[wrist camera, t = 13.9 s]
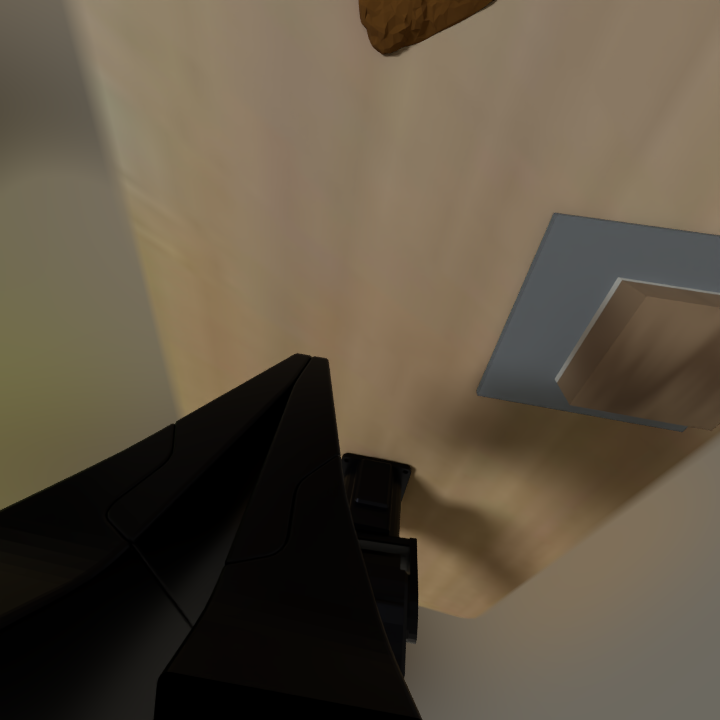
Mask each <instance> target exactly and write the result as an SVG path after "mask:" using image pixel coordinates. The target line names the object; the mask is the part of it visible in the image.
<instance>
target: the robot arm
mask: <svg viewBox="0 0 720 720" xmlns="http://www.w3.org/2000/svg"><path fill="white" fill-rule="evenodd" d="M410 474H411V467H410V466H408V465H404V464H399V463H393V462H388V461H383V460H378V459H373V458H368V457H363V456H358V455H353V454H347V453H346V454H343V456H342V460H341V457H340V447H339V439H338V431H337V423H336V415H335V408H334V400H333V392H332V384H331V376H330V368H329V361H328V359H327V358H321V357H316V356H314V357H311V356H310V355H304V354H299V353H297V354H294V355H292V356H290V357H289V358H287V359H285V360H283V361H282V362H280V363H278V364H276V365H275V366H273V367H271V368H269V369H268V370H266V371H264V372H262V373H261V374H259V375H257V376H255V377H253V378H252V379H250V380H248V381H246V382H245V383H243V384H241V385H239V386H238V387H236V388H234V389H232V390H231V391H229V392H227V393H225V394H224V395H222V396H220V397H218V398H216V399H215V400H213V401H211V402H209V403H208V404H206V405H204V406H202V407H201V408H199V409H197V410H195V411H194V412H192V413H190V414H188V415H187V416H185V417H183V418H181V419H179V420H178V421H176V423H175V424H170V425H169V426H167V427H165V428H163V429H162V430H160V431H158V432H156V433H155V434H153V435H151V436H149V437H147V438H145V439H144V440H142V441H140V442H138V443H136V444H134V445H132V446H131V447H129V448H127V449H125V450H123V451H121V452H119V453H117V454H115V455H113V456H111V457H109V458H107V459H105V460H103V461H101V462H99V463H97V464H95V465H93V466H91V467H89V468H87V469H85V470H83V471H81V472H79V473H77V474H74V475H73V476H70V477H68V478H66V479H64V480H62V481H60V482H58V483H56V484H54V485H52V486H50V487H47V488H45V489H44V490H41V491H39V492H37V493H35V494H33V495H31V496H29V497H27V498H25V499H23V500H20V501H19V502H16V503H14V504H12V505H10V506H8V507H6V508H4V509H2V510H0V720H422V718H421V716H420V713H419V711H418V709H417V707H416V704H415V702H414V700H413V698H412V695H411V693H410V691H409V689H408V686H407V684H406V682H405V680H404V676H405V653H406V642H409V643H413V644H416V640H417V626H418V567H417V539H416V538H410V539H407V538H400V537H399V530H400V509H401V501H402V498H403V495H404V492H405V489H406V486H407V483H408V480H409V477H410Z"/></svg>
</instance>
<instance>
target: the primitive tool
mask: <svg viewBox="0 0 720 720" xmlns="http://www.w3.org/2000/svg"><path fill="white" fill-rule="evenodd" d="M492 1H494V0H359V11H360V19H361V23H362V24H363V25H364V26H365V27H366V28H367V33H368V37H369V40H370V43H371V44H372V46H373V47H374V48H375V49H376V50H377V51H378V52H380V53H381V54H385V53H392V52H395V51H397V50H399V49H400V48H402V47H404V46H409V45H412V44H415V43H419V42H422V41H424V40H426V39H427V38H429V37H431V36H432V35H434V34H436V33H437V32H440V31H442V30H444V29H446V28H449V27H451V26H453V25H455V24H457V23H458V22H460V21H462V20H464V19H466V18H468V17H469V16H471V15H472V14H474V13H476V12H477V11H479V10H481V9H482V8H484V7H485V6H486V5H488V4H489V3H490V2H492Z"/></svg>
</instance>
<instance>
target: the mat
mask: <svg viewBox="0 0 720 720" xmlns="http://www.w3.org/2000/svg"><path fill="white" fill-rule="evenodd" d="M618 277H619V278H626V279H632V280H639V281H645V282H652V283H658V284H665V285H671V286H678V287H684V288H691V289H697V290H704V291H710V292H717V293H720V235H712V234H705V233H698V232H691V231H683V230H676V229H669V228H662V227H654V226H647V225H640V224H633V223H625V222H618V221H611V220H604V219H596V218H589V217H582V216H575V215H567V214H560V213H554V214H553V216H552V218H551V221H550V223H549V225H548V228H547V230H546V232H545V234H544V237H543V239H542V241H541V244H540V246H539V248H538V250H537V253H536V255H535V257H534V260H533V262H532V264H531V267H530V269H529V271H528V273H527V276H526V278H525V280H524V283H523V285H522V287H521V290H520V292H519V294H518V296H517V299H516V301H515V303H514V306H513V308H512V310H511V313H510V315H509V317H508V319H507V322H506V324H505V326H504V329H503V331H502V333H501V335H500V338H499V340H498V342H497V345H496V347H495V349H494V352H493V354H492V356H491V358H490V361H489V363H488V365H487V368H486V370H485V372H484V375H483V377H482V379H481V381H480V384H479V386H478V388H477V395H478V396H484V397H489V398H495V399H501V400H506V401H512V402H517V403H523V404H528V405H534V406H540V407H545V408H551V409H556V410H562V411H568V412H573V413H579V414H584V415H590V416H596V417H601V418H607V419H612V420H618V421H623V422H629V423H635V424H640V425H646V426H651V427H657V428H663V429H668V430H674V431H679V432H683V431H684V430H685V429H686V428H687V427H688V426H683V425H677V424H672V423H666V422H661V421H655V420H650V419H644V418H638V417H633V416H627V415H622V414H616V413H611V412H605V411H600V410H594V409H589V408H583V407H578V406H572V405H569V403H568V401H567V400H566V398H565V396H564V394H563V393H562V391H561V389H560V388H559V386H558V384H557V382H556V381H555V378H556V376H557V375H558V373H559V371H560V370H561V368H562V366H563V365H564V363H565V362H566V360H567V358H568V357H569V355H570V354H571V352H572V350H573V349H574V347H575V346H576V344H577V342H578V341H579V339H580V338H581V336H582V334H583V333H584V331H585V330H586V328H587V326H588V325H589V323H590V322H591V320H592V318H593V317H594V315H595V313H596V312H597V310H598V309H599V307H600V305H601V304H602V302H603V301H604V299H605V297H606V296H607V294H608V293H609V291H610V289H611V288H612V286H613V285H614V283H615V281H616V280H617V278H618Z"/></svg>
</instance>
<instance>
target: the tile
mask: <svg viewBox="0 0 720 720" xmlns="http://www.w3.org/2000/svg"><path fill="white" fill-rule="evenodd" d="M555 381H556V382H557V384H558V386H559V388H560V389H561V391H562V393H563V394H564V396H565V398H566V400H567V401H568V403H569V405H572V406H578V407H583V408H589V409H594V410H600V411H605V412H611V413H616V414H622V415H627V416H633V417H638V418H644V419H650V420H655V421H661V422H666V423H672V424H677V425H683V426H688V427H694V428H699V429H705V430H710V431H712V430H713V429H714V428H715V427H716V426H717V425H719V424H720V293H717V292H710V291H704V290H697V289H691V288H684V287H678V286H671V285H665V284H658V283H652V282H645V281H639V280H632V279H626V278H619V277H618V278H617V280H616V281H615V283H614V285H613V286H612V288H611V289H610V291H609V293H608V294H607V296H606V297H605V299H604V301H603V302H602V304H601V305H600V307H599V309H598V310H597V312H596V313H595V315H594V317H593V318H592V320H591V322H590V323H589V325H588V326H587V328H586V330H585V331H584V333H583V334H582V336H581V338H580V339H579V341H578V342H577V344H576V346H575V347H574V349H573V350H572V352H571V354H570V355H569V357H568V358H567V360H566V362H565V363H564V365H563V366H562V368H561V370H560V371H559V373H558V375H557V376H556V378H555Z"/></svg>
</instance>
